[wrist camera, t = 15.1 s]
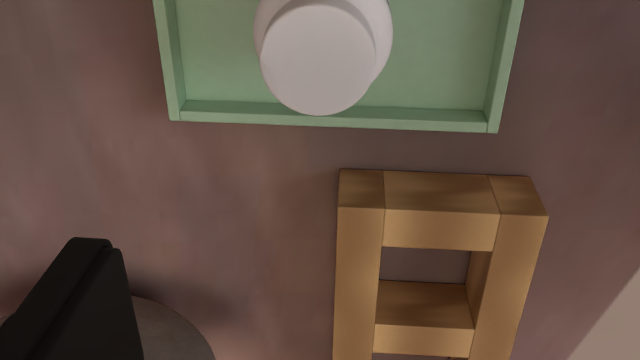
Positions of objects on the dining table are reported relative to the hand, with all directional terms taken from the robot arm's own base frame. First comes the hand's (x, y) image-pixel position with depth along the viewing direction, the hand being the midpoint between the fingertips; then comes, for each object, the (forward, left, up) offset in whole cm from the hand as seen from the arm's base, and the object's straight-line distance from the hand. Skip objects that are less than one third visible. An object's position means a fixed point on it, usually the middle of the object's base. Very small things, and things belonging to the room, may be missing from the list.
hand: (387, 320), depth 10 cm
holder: (-4, +19, -21) cm, 29 cm away
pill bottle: (+2, -1, -21) cm, 21 cm away
